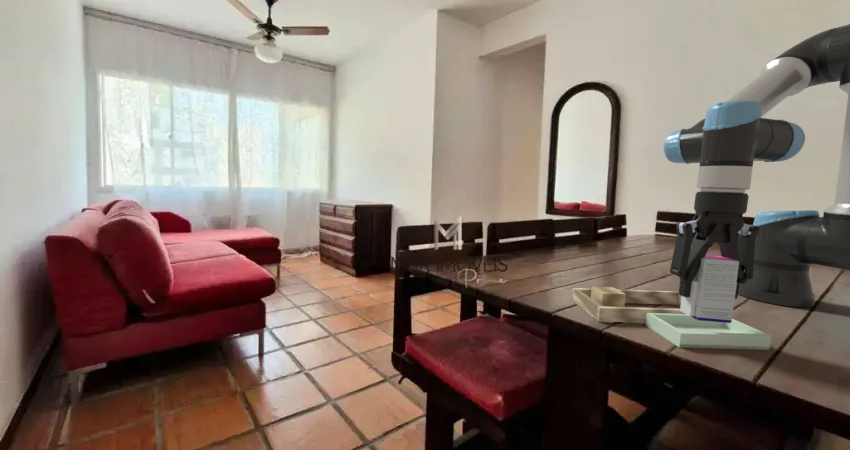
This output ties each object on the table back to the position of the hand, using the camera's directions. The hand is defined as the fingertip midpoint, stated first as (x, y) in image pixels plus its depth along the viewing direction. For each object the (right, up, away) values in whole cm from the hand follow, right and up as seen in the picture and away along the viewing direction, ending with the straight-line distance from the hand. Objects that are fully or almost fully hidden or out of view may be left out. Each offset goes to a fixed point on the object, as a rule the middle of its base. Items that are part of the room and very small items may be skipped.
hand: (705, 313), depth 69 cm
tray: (0, -4, +1) cm, 5 cm away
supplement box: (0, -1, 0) cm, 1 cm away
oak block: (-12, -3, +13) cm, 18 cm away
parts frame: (-4, -3, +13) cm, 14 cm away
